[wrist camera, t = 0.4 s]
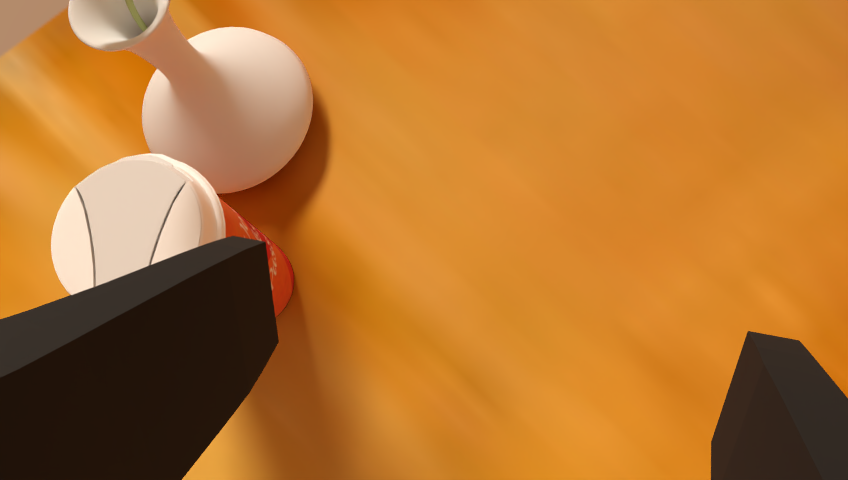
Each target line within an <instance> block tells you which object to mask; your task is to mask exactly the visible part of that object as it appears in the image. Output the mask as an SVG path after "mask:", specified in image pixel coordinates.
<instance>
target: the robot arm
mask: <svg viewBox="0 0 848 480" xmlns="http://www.w3.org/2000/svg"><path fill="white" fill-rule="evenodd" d="M278 342H279V341H278V334H277V326H276V318H275V311H274V303H273V295H272V287H271V280H270V272H269V264H268V256H267V249H266V242H264V241H259V240H253V239H248V238H243V237H237V236H230V237H227V238H223V239H219V240H216V241H213V242H210V243H207V244H204V245H202V246H199V247H196V248H193V249H191V250H188V251H185V252H183V253H180V254H177V255H175V256H172V257H170V258H167V259H165V260H162V261H160V262H157V263H154V264H152V265H149V266H147V267H144V268H142V269H139V270H137V271H134V272H131V273H129V274H126V275H124V276H121V277H119V278H116V279H114V280H111V281H108V282H106V283H103V284H101V285H98V286H95V287H92V288H90V289H87V290H84V291H81V292H78V293H76V294H73V295H70V296H67V297H64V298H62V299H59V300H56V301H53V302H51V303H48V304H45V305H42V306H39V307H37V308H34V309H31V310H28V311H25V312H22V313H19V314H16V315H13V316H10V317H7V318H3V319H0V480H182V479H183V477H184V476H185V475H186V474H187V472H188V471H189V470H190V468H191V467H192V466H193V465H194V463H195V462H196V461H197V460H198V458H199V457H200V456H201V454H202V453H203V452H204V451H205V449H206V448H207V447H208V446H209V444H210V443H211V442H212V441H213V439H214V438H215V437H216V435H217V434H218V433H219V432H220V430H221V429H222V428H223V426H224V425H225V424H226V423H227V421H228V420H229V419H230V417H231V416H232V415H233V414H234V412H235V411H236V410H237V408H238V407H239V406H240V404H241V403H242V402H243V400H244V399H245V398H246V396H247V395H248V394H249V392H250V391H251V389H252V387H253V386H254V384H255V382H256V381H257V379H258V377H259V376H260V374H261V373H262V371H263V369H264V367H265V366H266V364H267V362H268V360H269V358H270V357H271V355H272V353H273V351H274V349H275V347H276V346H277V344H278ZM711 480H848V398H847V397H846V396H845V395H844V393H843V392H842V391H841V390H840V389H839V387H838V386H837V385H836V384H835V382H834V381H833V380H832V379H831V378H830V376H829V375H828V374H827V373H826V372H825V370H824V369H823V368H822V367H821V366H820V364H819V363H818V362H817V361H816V360H815V358H814V357H813V356H812V355H811V354H810V352H809V351H808V350H807V349H806V348H805V347H804V346H803V344H802V343H801V342H800V341H799V340H793V339H788V338H783V337H777V336H772V335H766V334H761V333H756V332H750V331H748V333H747V336H746V339H745V342H744V345H743V348H742V351H741V354H740V357H739V360H738V363H737V366H736V369H735V372H734V375H733V378H732V381H731V384H730V387H729V390H728V393H727V396H726V399H725V402H724V405H723V408H722V411H721V414H720V417H719V420H718V423H717V426H716V429H715V432H714V435H713V438H712V441H711Z"/></svg>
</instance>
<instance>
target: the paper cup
mask: <svg viewBox="0 0 848 480" xmlns="http://www.w3.org/2000/svg"><path fill="white" fill-rule="evenodd" d="M230 236H237V237H243V238H248V239H253V240H259V241H264V242H266V249H267V256H268V264H269V272H270V280H271V287H272V295H273V303H274V311H275V317H276V316H278V315H279V314H280V313H281V312H282V311H283V309H284V308H285V307H286V305H287V304H288V302H289V300H290V297H291V295H292V291H293V286H294V275H293V270H292V266H291V264H290V262H289V260H288V258H287V256H286V255H285V254H284V253H283V251H282V250H281V249H280V248H279V247H278V246H277V245H275V244H274V243H273V242H272V241H271V240H270V239H269V238H267V237H266V236H265V235H264V234H263V233H261V232H260V231H259V230H258V229H257V228H255V227H254V226H253V225H252V224H251V223H249V222H248V221H247V220H246V219H244V218H243V217H242V216H241V215H240V214H238V213H237V212H236V211H235V210H233V209H232V208H231V207H230V206H229V205H227V204H226V203H225V202H224V201H222V200H221V199H220V198H219V197H218V196H217V194H216V192H215V190H214V189H213V187H212V186H211V185H210V183H209V182H208V181H207V180H206V178H205V177H203V176H202V175H201V174H200V173H199V172H198V171H196V170H195V169H193V168H192V167H190V166H188V165H187V164H185V163H182V162H180V161H177V160H174V159H172V158H170V157H168V156H165V155H163V154H142V155H135V156H129V157H125V158H122V159H120V160H118V161H116V162H114V163H111V164H108V165H106V166H104V167H102V168H100V169H98V170H96V171H95V172H94V173H92V174H91V175H89V176H88V177H86V178H85V179H84V180H83V181H81V182H80V183H79V184H77V185H76V187H74V188H73V189H72V190H71V192H70V193H69V194H68V196H67V197H66V199H65V200H64V202H63V204H62V206H61V208H60V210H59V212H58V214H57V217H56V220H55V223H54V227H53V232H52V241H51V250H52V260H53V263H54V267H55V271H56V273H57V275H58V277H59V279H60V282H61V283H62V285H63V286H64V287H65V289H66V290H67V292H68V293H69V294H70V295H73V294H76V293H78V292H81V291H84V290H87V289H90V288H92V287H95V286H98V285H101V284H103V283H106V282H108V281H111V280H114V279H116V278H119V277H121V276H124V275H126V274H129V273H131V272H134V271H137V270H139V269H142V268H144V267H147V266H149V265H152V264H154V263H157V262H160V261H162V260H165V259H167V258H170V257H172V256H175V255H177V254H180V253H183V252H185V251H188V250H191V249H193V248H196V247H199V246H202V245H204V244H207V243H210V242H213V241H216V240H219V239H223V238H227V237H230Z"/></svg>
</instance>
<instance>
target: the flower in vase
mask: <svg viewBox="0 0 848 480" xmlns="http://www.w3.org/2000/svg"><path fill="white" fill-rule="evenodd" d="M169 4H170V0H70V1H69V7H68V16H69V22H70V25H71V28H72V30H73V31H74V33H75V34H76V36H77V37H78V38H79V39H80V40H81V41H82V42H83V43H85V44H86V45H88V46H90V47H92V48H95V49H98V50H103V51H121V50H128V51H131V52H133V53H135V54H137V55H139V56H140V57H142V58H143V59H145V60H147V61H148V62H150V63H151V64H152V65H153V66H155V67H156V68H157V70H156V71H155V73H154V75H153V76H152V78H151V81H150V83H149V85H148V87H147V90H146V93H145V97H144V102H143V108H142V125H143V131H144V136H145V138H146V141H147V144H148V147H149V149H150V152H151V154H163V155H165V156H168V157H170V158H172V159H174V160H177V161H180V162H182V163H185V164H187V165H188V166H190V167H192V168H193V169H195V170H196V171H198V172H199V173H200V174H201V175H202V176H203V177H205V178H206V180H207V181H208V182H209V183H210V185H211V186H212V187H213V189H214V190H215V192H216V194H221V193H232V192H237V191H242V190H245V189H248V188H251V187H253V186H255V185H258V184H260V183H262V182H264V181H265V180H267V179H268V178H270V177H272V176H273V175H274V174H276V173H277V172H278V171H279V170H281V169H282V168H283V167H284V166H285V165H286V164H287V163H288V162H289V161H290V160H291V158H292V157H293V156H294V154H295V153H296V152H297V150H298V149H299V147H300V145H301V144H302V142H303V140H304V138H305V136H306V133H307V131H308V128H309V125H310V121H311V117H312V110H313V93H312V86H311V82H310V78H309V75H308V73H307V71H306V69H305V66H304V65H303V63H302V62H301V60H300V59H299V57H298V56H297V55H296V54H295V53H294V51H293V50H291V49H290V48H289V47H288V46H287V45H286V44H284V43H283V42H281V41H280V40H278V39H277V38H274V37H272V36H270V35H268V34H265V33H263V32H260V31H257V30H254V29H249V28H243V27H225V28H218V29H214V30H210V31H207V32H204V33H201V34H199V35H196V36H194V37H192V38H190V39H189V40H187V39H186V38H185V37H184V36H183V35H182V33H181V32H180V30H179V29H178V27H177V26H176V24H175V23H174V21H173V19H172V17H171V15H170V13H169Z"/></svg>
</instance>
